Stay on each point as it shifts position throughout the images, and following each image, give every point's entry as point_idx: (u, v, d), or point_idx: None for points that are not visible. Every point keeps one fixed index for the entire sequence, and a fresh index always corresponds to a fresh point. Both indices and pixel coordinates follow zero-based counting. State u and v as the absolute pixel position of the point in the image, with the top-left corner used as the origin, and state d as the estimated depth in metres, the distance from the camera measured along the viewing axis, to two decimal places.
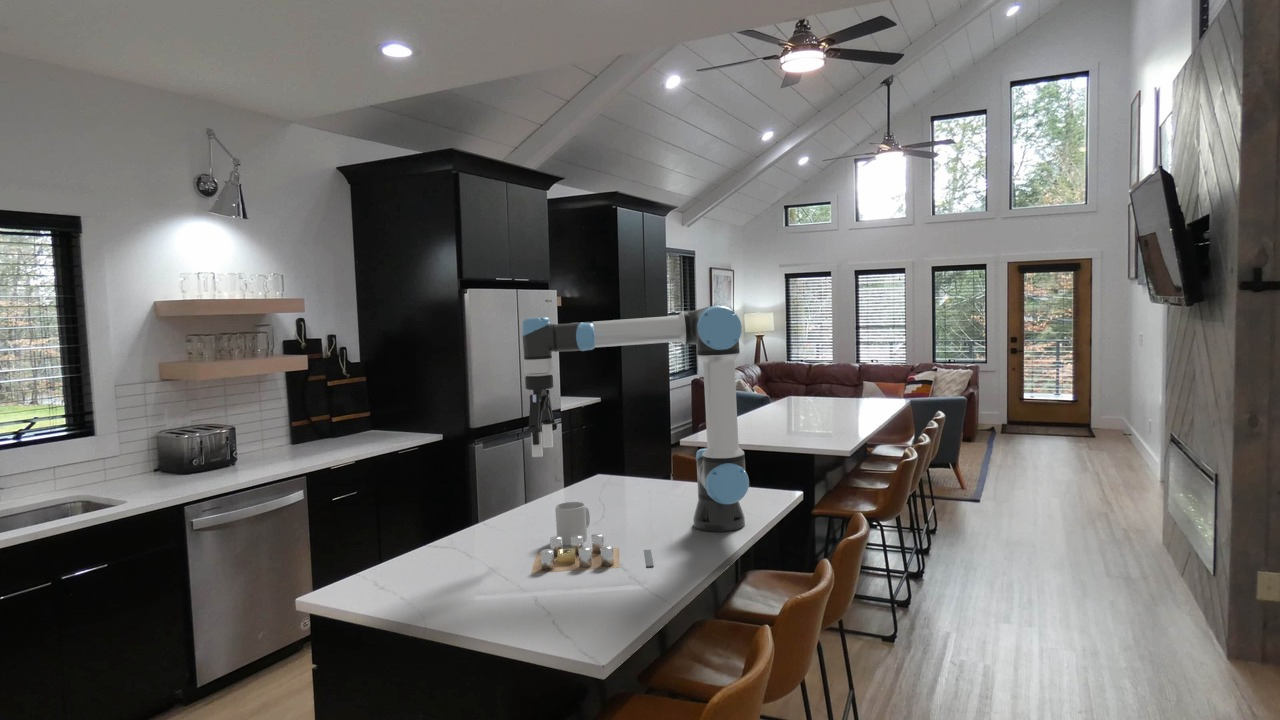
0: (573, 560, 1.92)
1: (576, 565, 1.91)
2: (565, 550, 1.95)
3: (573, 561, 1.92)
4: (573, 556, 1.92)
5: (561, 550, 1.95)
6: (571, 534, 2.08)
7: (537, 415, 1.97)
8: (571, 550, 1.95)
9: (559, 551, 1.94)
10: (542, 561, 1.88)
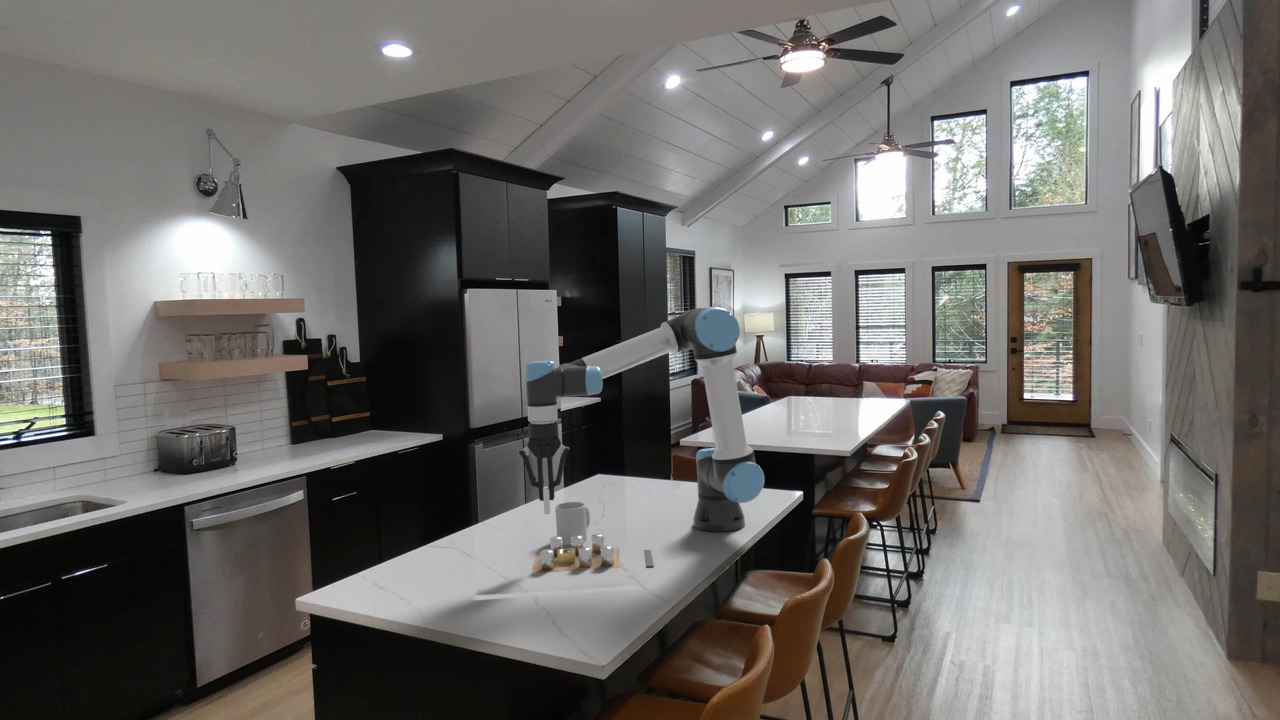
0: (573, 560, 1.92)
1: (576, 565, 1.91)
2: (565, 550, 1.95)
3: (573, 561, 1.92)
4: (573, 556, 1.92)
5: (561, 550, 1.95)
6: (571, 534, 2.08)
7: None
8: (571, 550, 1.95)
9: (559, 551, 1.94)
10: (542, 561, 1.88)
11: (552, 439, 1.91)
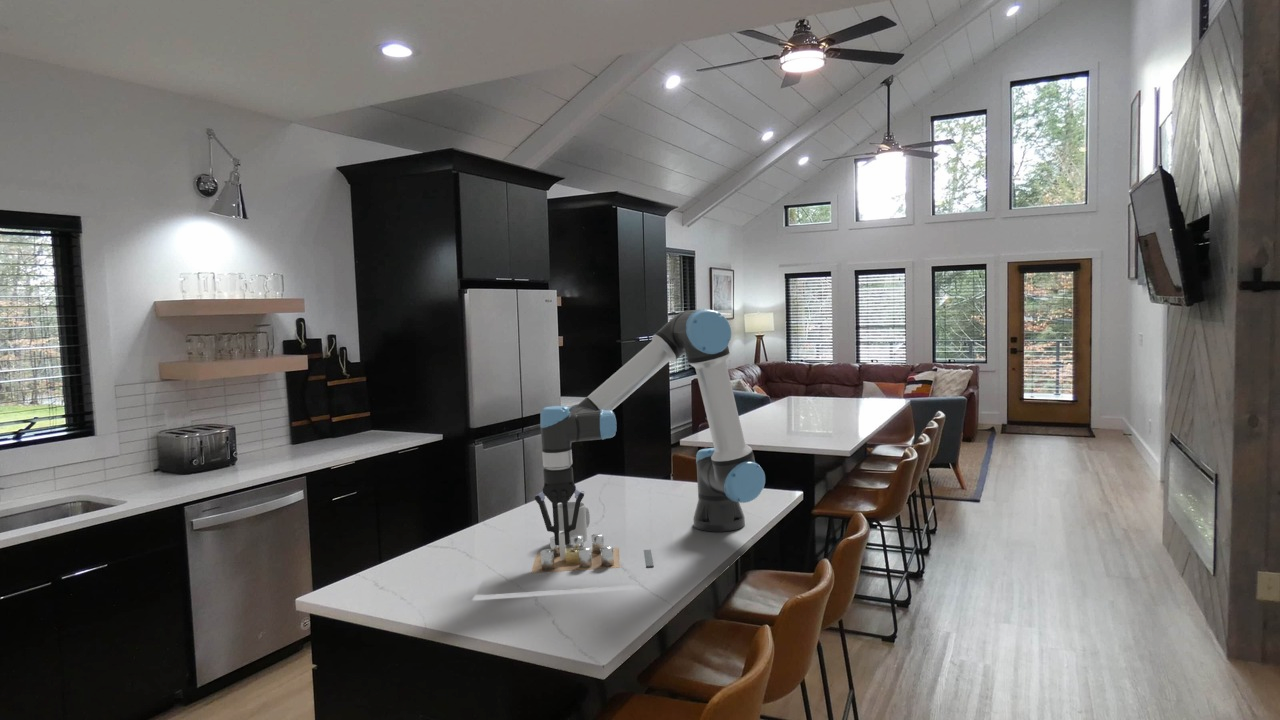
0: None
1: (576, 565, 1.91)
2: (573, 549, 1.95)
3: None
4: None
5: (569, 550, 1.95)
6: (571, 534, 2.08)
7: (543, 517, 1.93)
8: None
9: (567, 550, 1.95)
10: (542, 561, 1.88)
11: (567, 484, 1.92)
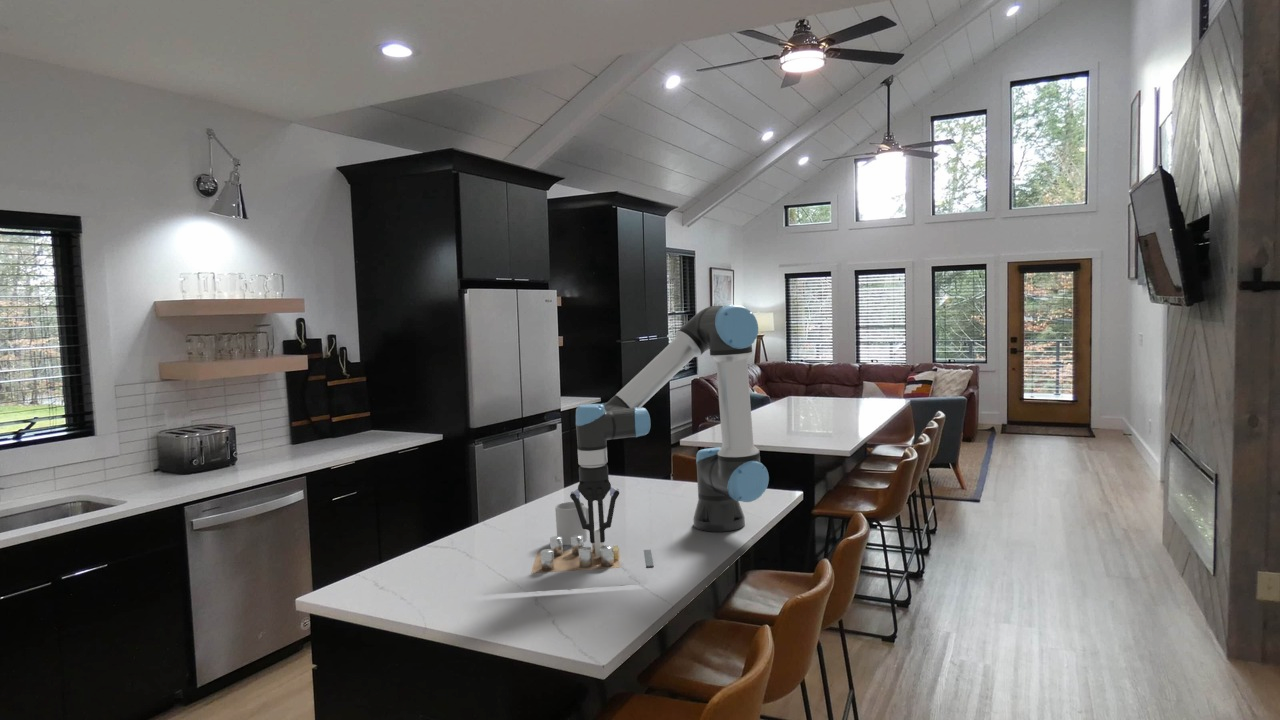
0: (616, 557, 1.93)
1: (576, 565, 1.91)
2: None
3: (616, 558, 1.93)
4: (616, 553, 1.93)
5: None
6: (571, 534, 2.08)
7: (578, 514, 1.93)
8: (614, 547, 1.95)
9: None
10: (542, 561, 1.88)
11: (602, 482, 1.93)
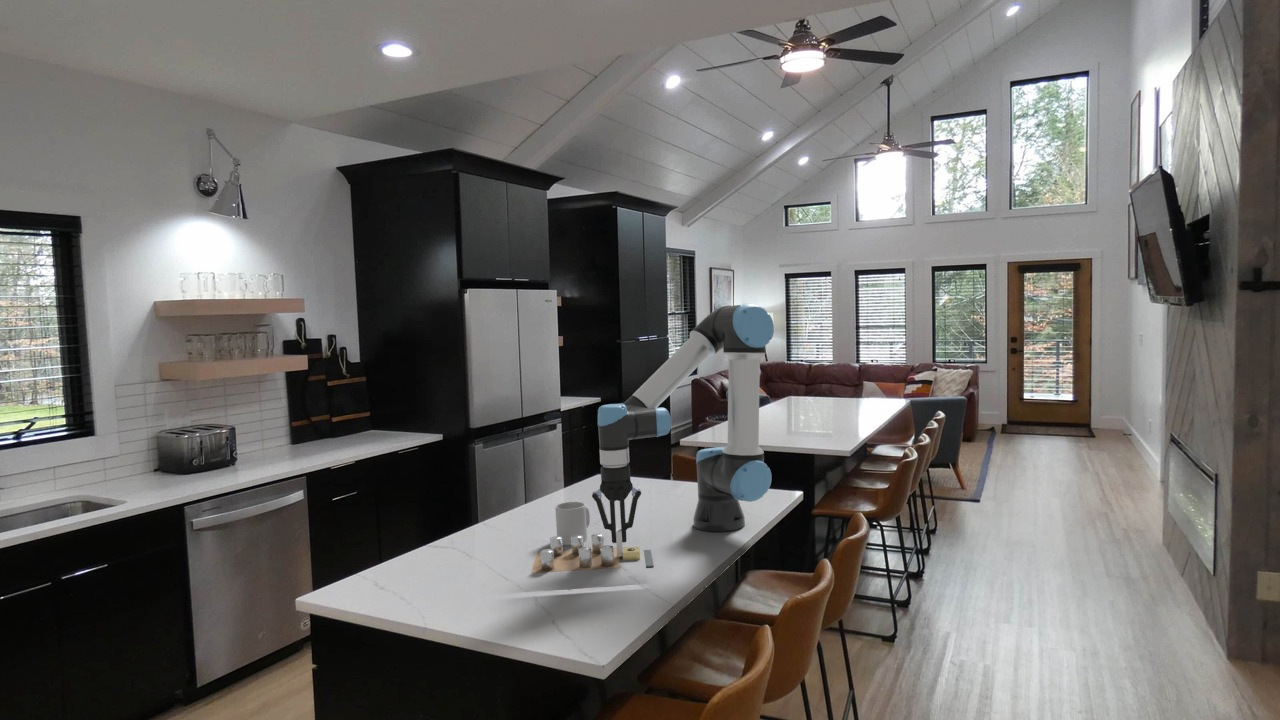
0: (638, 558, 1.93)
1: (576, 565, 1.91)
2: (629, 548, 1.95)
3: None
4: (638, 554, 1.93)
5: (625, 549, 1.96)
6: (571, 534, 2.08)
7: None
8: (635, 548, 1.95)
9: (623, 549, 1.95)
10: (542, 561, 1.88)
11: (624, 482, 1.93)
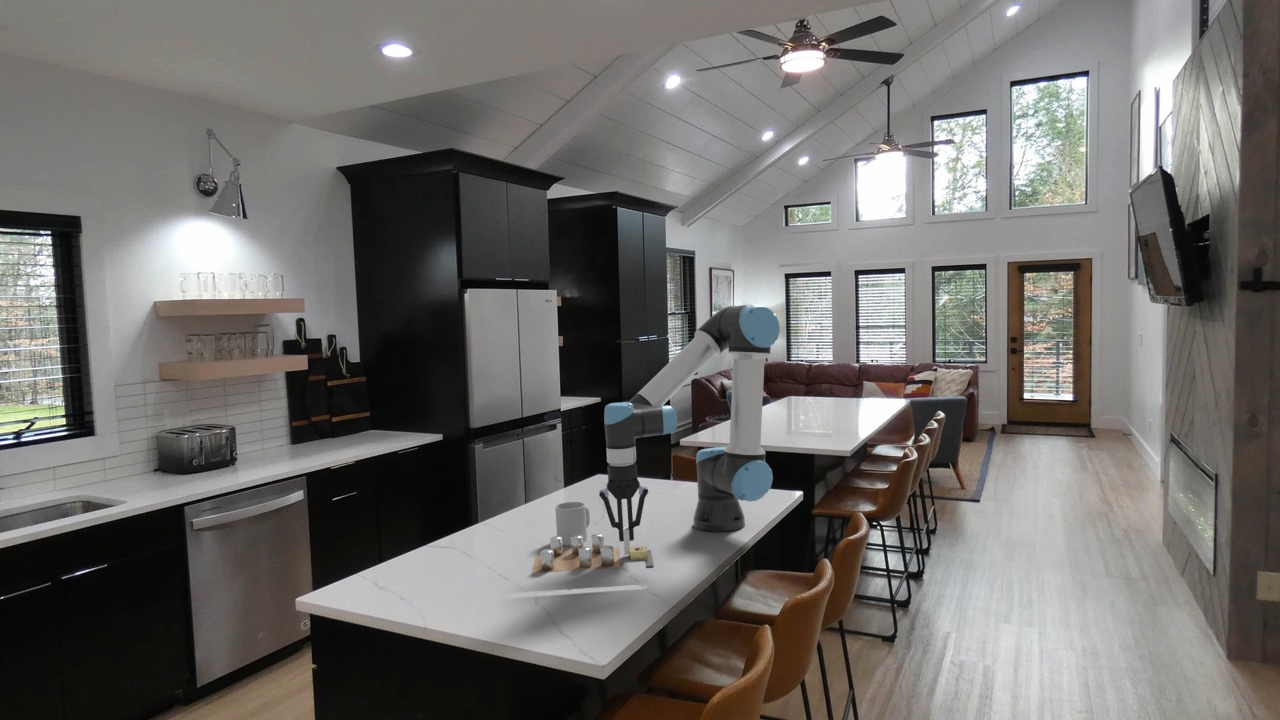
0: (646, 558, 1.93)
1: (576, 565, 1.91)
2: (637, 548, 1.96)
3: (646, 559, 1.93)
4: (646, 554, 1.93)
5: (633, 548, 1.96)
6: (571, 534, 2.08)
7: None
8: (643, 548, 1.95)
9: (631, 549, 1.95)
10: (542, 561, 1.88)
11: (631, 480, 1.93)
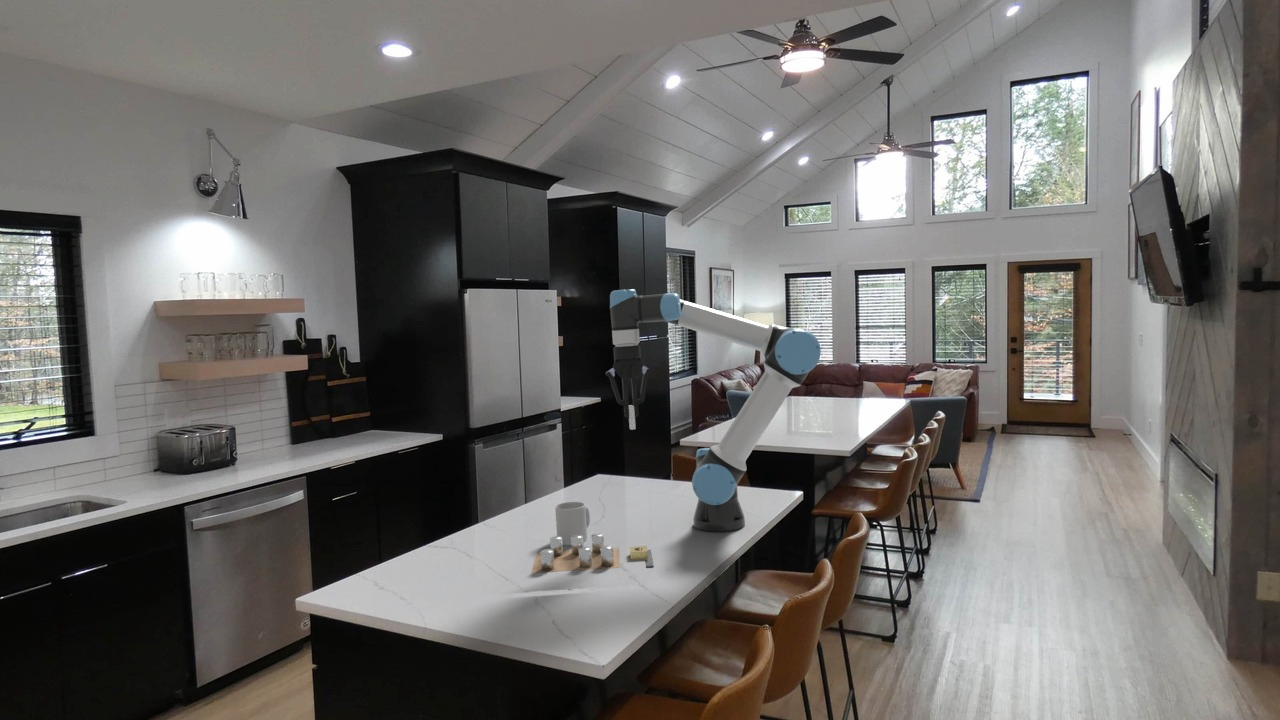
0: (646, 558, 1.93)
1: (576, 565, 1.91)
2: (637, 548, 1.96)
3: (646, 559, 1.93)
4: (646, 554, 1.93)
5: (633, 548, 1.96)
6: (571, 534, 2.08)
7: (614, 391, 2.10)
8: (643, 548, 1.95)
9: (631, 549, 1.95)
10: (542, 561, 1.88)
11: (636, 360, 2.10)
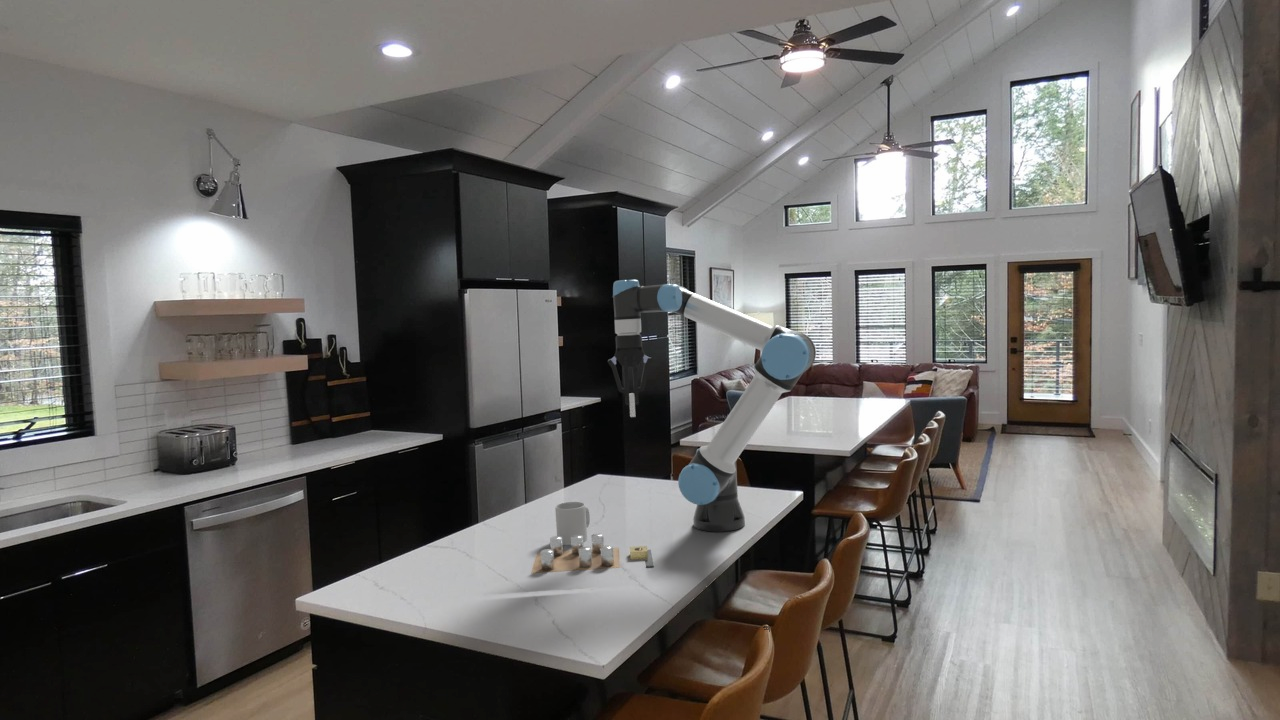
0: (646, 558, 1.93)
1: (576, 565, 1.91)
2: (637, 548, 1.96)
3: (646, 559, 1.93)
4: (646, 554, 1.93)
5: (633, 548, 1.96)
6: (571, 534, 2.08)
7: (615, 379, 2.15)
8: (643, 548, 1.95)
9: (631, 549, 1.95)
10: (542, 561, 1.88)
11: (637, 349, 2.14)
